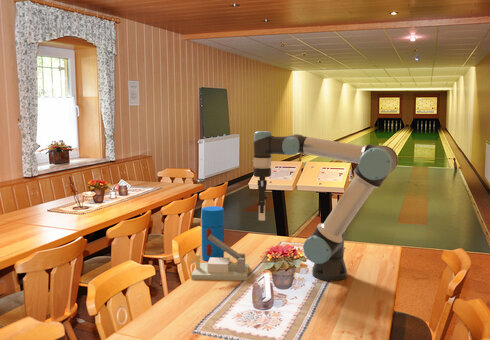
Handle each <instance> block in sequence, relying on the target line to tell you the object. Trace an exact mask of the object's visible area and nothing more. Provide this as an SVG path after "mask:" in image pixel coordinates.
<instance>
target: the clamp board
mask: <svg viewBox="0 0 490 340" xmlns="http://www.w3.org/2000/svg"><path fill="white" fill-rule="evenodd" d="M239 254H240V255H242V256H244V258H238V259H236V260H237V261H236V262H237V263H236V262H235V263H233V262H231V258H230V257H224V258H218V257H210V259H209V261H208V262H201V254H200V253H196V254H195V266H194V269H193V271H192V272H191V275H190V278H191V280H208V281H209V280H212V281H213V280H215V281H216V280H218V281H248V278H249V277H248V276H249V269H250V264H249V263H246V253H239Z"/></svg>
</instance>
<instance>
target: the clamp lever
mask: <svg viewBox="0 0 490 340" xmlns="http://www.w3.org/2000/svg"><path fill="white" fill-rule="evenodd" d="M208 240H210V241H211V242H212V243H214V244H215V245H217V246H218V247H220V248H221V249H222V250H224V253H227V254H228V255H230V256H231V257H232V258H234V259H235V260H237V259H238V258H244V256H242V255H240V254H241V253H238V252H237V251H235V250H234V249H233V248H231V247H230V246H228V245H227V244H226V243H225V242H224V243H223V242H221V241H220V240H219V239H217V238H216V237H214V236H213V235H211V234H210V235H209V237H208Z"/></svg>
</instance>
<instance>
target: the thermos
mask: <svg viewBox="0 0 490 340" xmlns="http://www.w3.org/2000/svg"><path fill="white" fill-rule="evenodd" d="M210 234H211V235H213V236H214V237H216V238H217V239H219V240H220V241H221V242H223V243H224V244H225V209H224V207H222V206H218V205H217V206H215V205H211V206H210V205H208V206H204V207H202V208H201V259H202V261H204V262H205V263H208V261H209V259H210V257H218V258H225V251H224V250H222V249H221V248H220V247H218V246H217V245H215V244H214V243H212V242H211V241H210V240H208V237H209V235H210Z"/></svg>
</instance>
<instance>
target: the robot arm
mask: <svg viewBox="0 0 490 340" xmlns="http://www.w3.org/2000/svg"><path fill="white" fill-rule="evenodd" d="M298 153H299V154H303V155H304V154H305V155H310V156H316V157H321V158H325V159H331V160H336V161H341V162H348V163H352V164H357V165H356V167H355V168H354V170H353V175H354V176H353V178H352V180H351V181H350V183H349V184H348V186H347V187H346V189H345V190H344V192H343V194H342V195H341V196H340V198H339V199H338V201H337V202H336V204H335V205H334V207H333V208H332V210H331V211H330V213H329V214H328V216H327V217H326V219H325V220H324V222H320V223H318V224H317V226H316V228H315V229H314V231H313V232H312V233H311V234H310V236H309V237H307V238H306V239H305V241H304V242H303V246H302V251H303V254H304V256H305V258H306V259H307V260H308V261H310V262H311V263H313V267H312V270H311V274H312V276H313V277H314V278H317V279H319V280H322V281H330V282H335V281H342V280H345V279H346V278H347V277H348V270H347V267H346V263H345V259H344V253H345V252H344V251H345V233H346V232H345V231H346V229H347V228H348V227H349V225H350V224H351V222H352V221H353V219H354V218H355V216H356V215H357V214H358V212H359V211H360V209H361V208H362V206H363V205H364V203H365V202H366V200H367V199H368V198H369V196H370V195H371V194H372V192H373V190H374V189H378V188H381V186H382V184H383V183H384V182H385V181H386V179H387V177H388V176H389V174H390V173H393V171H394V170H395V169H396V167H398V162H399V158H398V155H397V152H396V151H395V150H394V148H392V147H390V146H388V145H381V144H380V145H377V144H376V145H375V144H368V143H367V144H365V145H359V144H354V143H353V144H352V143H346V142H340V141H336V140H335V141H334V140H330V139H324V138H317V137H309V136H304V135H302V134H298V133H297V134H292V135H285V136H276V135H275V136H273V135H272V132H271V131H270V130H257V131H255V132H254V134H253V159H252V160H251V162H253V176H254V177H255V178H259V179H257V191H258V203H257V204H256V206H258V221H266V200H267V199H268V198H267V196H266V192H267V185H268V184H267V182H268V180H266V178H270V177H271V176H272V168H271V167H272V155H287V156H295V155H297V154H298Z"/></svg>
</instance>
